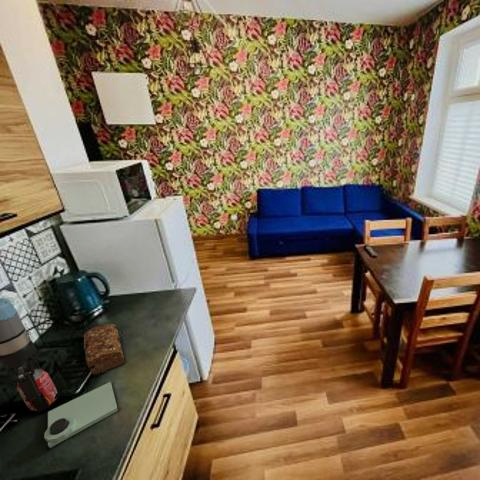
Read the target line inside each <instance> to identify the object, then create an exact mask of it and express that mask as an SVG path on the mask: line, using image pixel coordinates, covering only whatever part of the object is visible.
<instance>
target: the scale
mask: <svg viewBox="0 0 480 480" xmlns="http://www.w3.org/2000/svg"><path fill="white" fill-rule="evenodd" d="M118 411H119V410H118V406H117V401H116V398H115V393H114V389H113V385H112V381H109V382H107V383H105V384H102V385H101V386H99V387H97V388H94V389H92V390H90V391H88V392H86V393H84V394H82V395H80V396H78V397H76V398H73V399H72V400H69V401H68V402H66V403H63V404H61V405H59V406H57V407H55V408H52V409H51V410H49V411H47V429H46V430H45V432H44V437H43V438H44V440H45V441H46V442H47V446H48V448H49V449H51V448H53V447H54V446H57V445H58V444H60V443H62V442H64V441H66V440H67V439H69V438H71V437H73V436H74V435H77V434H79V433H80V432H82V431H84V430H86V429H87V428H89V427H91V426H93V425H95V424H96V423H99V422H100V421H103V420H104V419H106V418H107V417H109V416H111V415H112V414H113V415H114V413H116V412H118ZM61 418H65V419H66V420H67V422H68V427H67V428H66V429H65V430H64V431H63V432H61V433H59V434H56V435H53V434H52V433H51V431H50V426H51V425H52V424H53V423H54V422H55V421H57V420H59V419H61Z"/></svg>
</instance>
